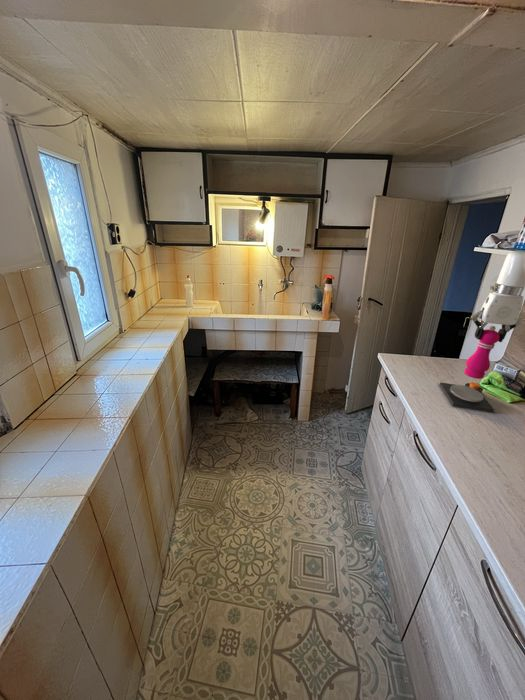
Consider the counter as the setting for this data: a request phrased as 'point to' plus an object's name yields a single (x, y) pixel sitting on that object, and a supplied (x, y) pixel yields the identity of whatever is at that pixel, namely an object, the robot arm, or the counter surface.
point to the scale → (459, 402)
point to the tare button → (474, 385)
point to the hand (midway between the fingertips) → (488, 339)
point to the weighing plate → (466, 393)
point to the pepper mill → (482, 354)
